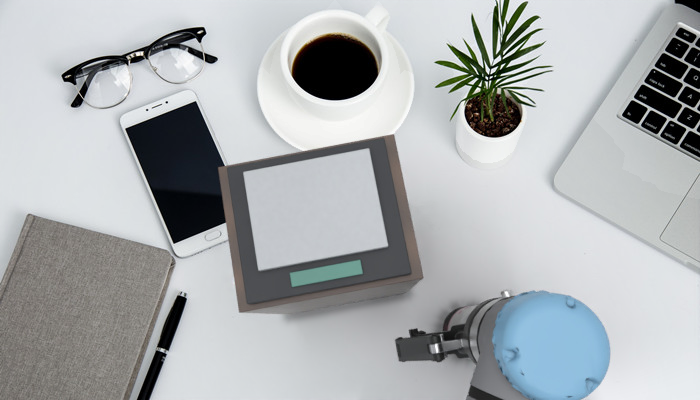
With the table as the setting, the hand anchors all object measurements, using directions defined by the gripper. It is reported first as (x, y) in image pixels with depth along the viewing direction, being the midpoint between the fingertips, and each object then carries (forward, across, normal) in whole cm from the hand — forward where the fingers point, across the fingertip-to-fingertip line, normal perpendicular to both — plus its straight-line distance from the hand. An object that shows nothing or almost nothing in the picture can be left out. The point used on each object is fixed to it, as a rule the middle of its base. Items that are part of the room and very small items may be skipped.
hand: (473, 331), depth 77 cm
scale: (-26, +15, -13) cm, 33 cm away
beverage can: (+6, 0, 0) cm, 6 cm away
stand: (+6, +15, -13) cm, 21 cm away
